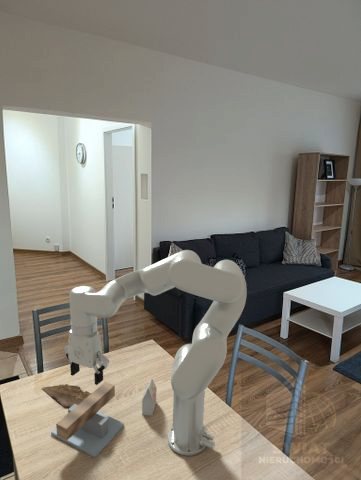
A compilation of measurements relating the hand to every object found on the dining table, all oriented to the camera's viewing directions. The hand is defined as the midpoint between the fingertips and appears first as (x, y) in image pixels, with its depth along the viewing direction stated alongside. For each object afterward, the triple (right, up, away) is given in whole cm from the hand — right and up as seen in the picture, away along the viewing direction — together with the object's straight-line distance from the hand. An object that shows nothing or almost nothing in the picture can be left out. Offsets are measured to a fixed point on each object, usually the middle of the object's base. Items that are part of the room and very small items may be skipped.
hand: (87, 377), depth 102 cm
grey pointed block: (+18, -17, +15) cm, 29 cm away
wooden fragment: (-12, -16, +19) cm, 28 cm away
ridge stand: (-1, -19, +4) cm, 19 cm away
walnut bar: (0, -13, +3) cm, 13 cm away
